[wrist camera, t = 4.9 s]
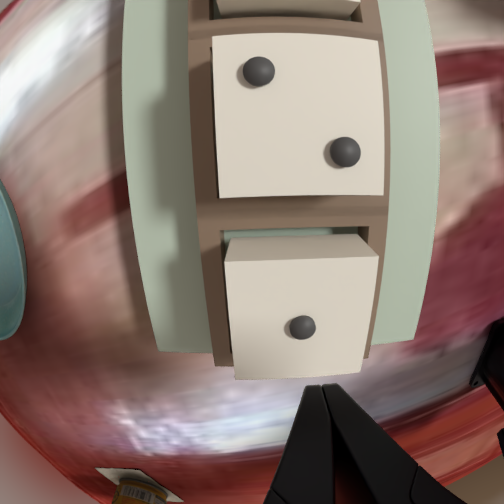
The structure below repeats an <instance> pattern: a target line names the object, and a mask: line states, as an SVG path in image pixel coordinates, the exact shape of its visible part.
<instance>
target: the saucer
mask: <svg viewBox="0 0 504 504" xmlns="http://www.w3.org/2000/svg"><path fill="white" fill-rule="evenodd" d="M26 291H27V269H26V257H25V249H24V243H23V238H22V233H21V229H20V225H19V221H18V218H17V215H16V212H15V209H14V207H13V204H12V202H11V199H10V197H9V195H8V193H7V191H6V189H5V187H4V185H3V183H2V182H1V180H0V340H4V339H8V338H9V337H11V336H12V335H13V334H14V333H15V332H16V331H17V329H18V328H19V326H20V323H21V321H22V318H23V313H24V308H25V301H26Z"/></svg>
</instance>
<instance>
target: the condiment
mask: <svg viewBox="0 0 504 504" xmlns="http://www.w3.org/2000/svg"><path fill="white" fill-rule="evenodd" d="M95 469H97V470H98V471H99V472H100V473H102V474H103V475H104V476H105V477H106V478H108V479H110V480H111V481H112V482H114V483H115V484H116V485H118V486H117V489H116V492H115V495H114V498H113V501H112V504H166V503H167V501H171V502H184V501H183V500H181V499H180V498H178V497H177V496H176V495H174V494H173V493H172V492H170V491H168V490H167V489H166V488H164V487H163V486H160V485H159V484H158V483H157V482H155V481H154V480H153V479H152V478H150V477H148V476H146V475H145V474H144V473H143V472H141V471H140V470H134V469H114V468H109V469H106V468H95ZM118 476H119V478H118ZM148 481H149V482H148Z"/></svg>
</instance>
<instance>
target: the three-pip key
mask: <svg viewBox="0 0 504 504" xmlns="http://www.w3.org/2000/svg"><path fill="white" fill-rule="evenodd" d="M216 1H217V4H218V8H219V11H220V14H221V17H222V19H228V18H243V17H309V18H324V19H335V20H344V21H346V20H347V19H348V18H349V16H350V15H351V14H352V13H353V11H354V10H355V9H356V7H357V6H358V5H359V4H360V2H361V1H360V0H216Z"/></svg>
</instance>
